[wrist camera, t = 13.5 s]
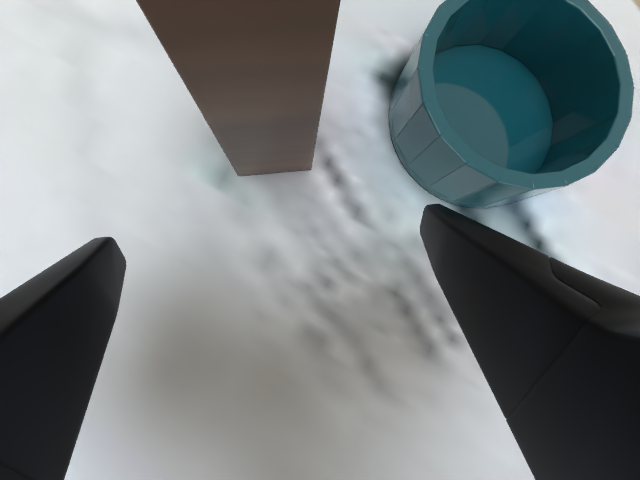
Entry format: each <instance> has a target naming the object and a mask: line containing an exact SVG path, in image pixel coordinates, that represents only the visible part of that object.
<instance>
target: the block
mask: <svg viewBox="0 0 640 480" xmlns="http://www.w3.org/2000/svg"><path fill="white" fill-rule="evenodd" d="M136 1H137V3H138V4H139V6H140V8H141V10H142V11H143V13H144V15H145V16H146V18H147V20H148V22H149V23H150V25H151V27H152V29H153V30H154V32H155V34H156V35H157V37H158V39H159V41H160V42H161V44H162V46H163V47H164V49H165V51H166V53H167V54H168V56H169V58H170V60H171V61H172V63H173V65H174V66H175V68H176V70H177V72H178V73H179V75H180V77H181V78H182V80H183V82H184V84H185V85H186V87H187V89H188V90H189V92H190V94H191V96H192V97H193V99H194V101H195V103H196V104H197V106H198V108H199V109H200V111H201V113H202V115H203V116H204V118H205V120H206V121H207V123H208V125H209V127H210V128H211V130H212V132H213V133H214V135H215V137H216V139H217V140H218V142H219V144H220V146H221V147H222V149H223V151H224V152H225V154H226V156H227V158H228V159H229V161H230V163H231V164H232V166H233V168H234V170H235V171H236V173H237V175H238V176H246V175H257V174H268V173H280V172H291V171H302V170H311V167H312V161H313V155H314V149H315V144H316V138H317V132H318V126H319V121H320V115H321V109H322V104H323V98H324V92H325V86H326V81H327V75H328V69H329V63H330V58H331V52H332V46H333V40H334V35H335V29H336V23H337V17H338V12H339V6H340V0H136Z"/></svg>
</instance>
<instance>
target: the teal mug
mask: <svg viewBox="0 0 640 480" xmlns="http://www.w3.org/2000/svg"><path fill="white" fill-rule="evenodd" d="M633 94H634V84H633V79H632V74H631V70H630V65H629V61H628V56H627V54H626V51H625V49H624V47H623V46H622V44H621V42H620V40H619V38H618V36H617V35H616V33H615V31H614V29H613V27H612V25H611V24H609V22H608V20H607V19H606V18H605V17H604V16H603V15H602V14H601V13H600V12H599V11H598V10H597V9H596V8H595V7H594V6H593V5H592V4H591V3H590V2H589V1H588V0H445V1H444V2H443V3H442V4H441V5H440V6H439V7H438V8H437V10H436V12H435V13H434V15H433V17H432V19H431V21H430V22H429V24H428V26H427V28H426V29H425V31H424V33H423V35H422V37H421V39H420V40H419V42H418V44H417V46H416V48H415V50H414V51H413V53H412V55H411V57H410V59H409V61H408V62H407V64H406V66H405V68H404V70H403V72H402V73H401V75H400V77H399V79H398V81H397V82H396V85H395V88H394V90H393V93H392V97H391V101H390V108H389V127H390V133H391V138H392V141H393V145H394V148H395V150H396V153H397V155H398V157H399V159H400V161H401V162H402V164H403V166H404V167H405V169H406V170H407V171H408V173H409V174H410V175H411V176H412V178H413V179H414V180H415V181H417V182H418V183H419V184H420V185H421V186H422V187H423V188H424V189H426V190H427V191H428V192H430V193H431V194H433V195H435V196H436V197H438V198H440V199H442V200H444V201H447V202H449V203H452V204H455V205H459V206H463V207H470V208H489V207H496V206H500V205H505V204H510V203H513V202H517V201H520V200H523V199H526V198H529V197H533V196H536V195H539V194H542V193H545V192H549V191H552V190H555V189H558V188H561V187H565V186H568V185H570V184H572V183H574V182H576V181H578V180H580V179H582V178H584V177H586V176H588V175H590V174H592V173H594V172H596V171H597V170H598V169H599V168H600V167H601V165H602V164H603V163H604V162H605V161H606V160H607V159H608V158H609V157H610V156H611V155H612V154H613V153H614V152H615V151H616V150H617V148H618V147H619V145H620V143H621V141H622V139H623V136H624V134H625V132H626V129H627V127H628V125H629V123H630V120H631V117H632V105H633Z"/></svg>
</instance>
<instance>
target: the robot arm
mask: <svg viewBox="0 0 640 480" xmlns="http://www.w3.org/2000/svg"><path fill="white" fill-rule="evenodd" d="M420 234H421V237H422V240H423V243H424V246H425V249H426V251H427V254H428V257H429V260H430V263H431V266H432V269H433V271H434V274H435V276H436V278H437V280H438V283H439V285H440V287H441V289H442V291H443V293H444V295H445V297H446V299H447V301H448V303H449V305H450V307H451V309H452V311H453V313H454V315H455V317H456V319H457V321H458V323H459V325H460V327H461V329H462V331H463V333H464V335H465V337H466V339H467V341H468V343H469V345H470V347H471V349H472V352H473V354H474V356H475V358H476V360H477V362H478V364H479V366H480V368H481V370H482V372H483V374H484V376H485V378H486V380H487V382H488V384H489V386H490V388H491V390H492V392H493V394H494V396H495V398H496V400H497V402H498V404H499V406H500V408H501V410H502V412H503V414H504V416H505V418H507V419H506V421H507V423H508V425H509V427H510V429H511V431H512V433H513V435H514V437H515V439H516V441H517V443H518V445H519V447H520V449H521V451H522V453H523V455H524V457H525V460H526V462H527V464H528V466H529V468H530V470H531V472H532V474H533V476H534V478H535V480H640V296H639V295H636V294H634V293H631V292H629V291H626V290H624V289H622V288H619V287H617V286H614V285H612V284H610V283H607V282H605V281H603V280H600V279H598V278H595V277H593V276H591V275H588V274H586V273H584V272H582V271H580V270H577V269H575V268H573V267H571V266H569V265H567V264H564V263H562V262H560V261H558V260H556V259H554V258H552V257H550V258H549V256H548V255H546V254H543V253H541V252H539V251H537V250H535V249H533V248H531V247H529V246H527V245H525V244H522V243H520V242H518V241H516V240H514V239H512V238H510V237H508V236H506V235H504V234H502V233H499V232H497V231H495V230H493V229H491V228H489V227H487V226H485V225H483V224H481V223H479V222H476V221H474V220H472V219H470V218H468V217H466V216H464V215H462V214H460V213H458V212H456V211H453V210H451V209H449V208H447V207H445V206H443V205H441V204H432V205H427V206H425V208H424V211H423V216H422V220H421V225H420ZM125 270H126V260H125V257H124V255H123V254H122V252H121V250H120V248H119V247H118V245H117V243H116V241H115V240H114V239H113V238H112V237H101V238H95V239H93V240H91V241H90V242H88V243H86V244H85V245H83V246H82V247H80V248H79V249H77V250H75V251H74V252H72V253H71V254H69V255H68V256H66V257H65V258H63V259H61V260H60V261H58V262H57V263H55V264H54V265H52V266H50V267H49V268H47V269H46V270H44V271H43V272H41V273H39V274H38V275H36V276H35V277H33V278H32V279H30V280H28V281H27V282H25V283H24V284H22V285H21V286H19V287H17V288H16V289H14V290H13V291H11V292H10V293H8V294H7V295H5V296H3V297H2V298H0V480H64V478H65V475H66V472H67V469H68V466H69V463H70V460H71V456H72V453H73V450H74V447H75V444H76V441H77V438H78V435H79V432H80V428H81V425H82V422H83V419H84V416H85V413H86V410H87V407H88V403H89V400H90V397H91V394H92V391H93V388H94V385H95V382H96V378H97V375H98V372H99V369H100V366H101V363H102V360H103V357H104V353H105V350H106V347H107V344H108V341H109V338H110V335H111V332H112V329H113V325H114V322H115V319H116V316H117V312H118V307H119V302H120V297H121V292H122V286H123V281H124V276H125Z"/></svg>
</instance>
